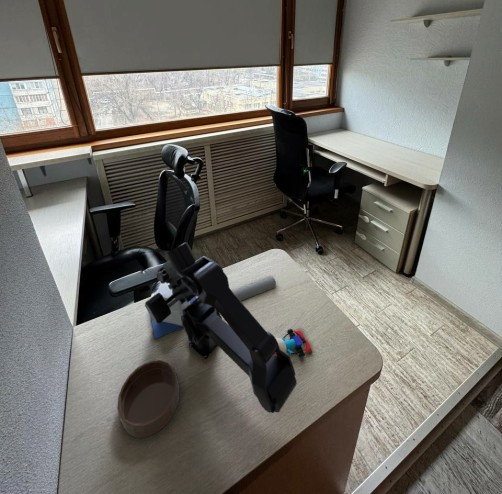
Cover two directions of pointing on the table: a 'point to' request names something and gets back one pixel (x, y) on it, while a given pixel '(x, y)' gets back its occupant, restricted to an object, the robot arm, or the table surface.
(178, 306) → the small box
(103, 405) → the table surface
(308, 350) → the toy figure
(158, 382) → the bowl
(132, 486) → the table surface
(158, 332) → the cloth
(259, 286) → the gray half cylinder
